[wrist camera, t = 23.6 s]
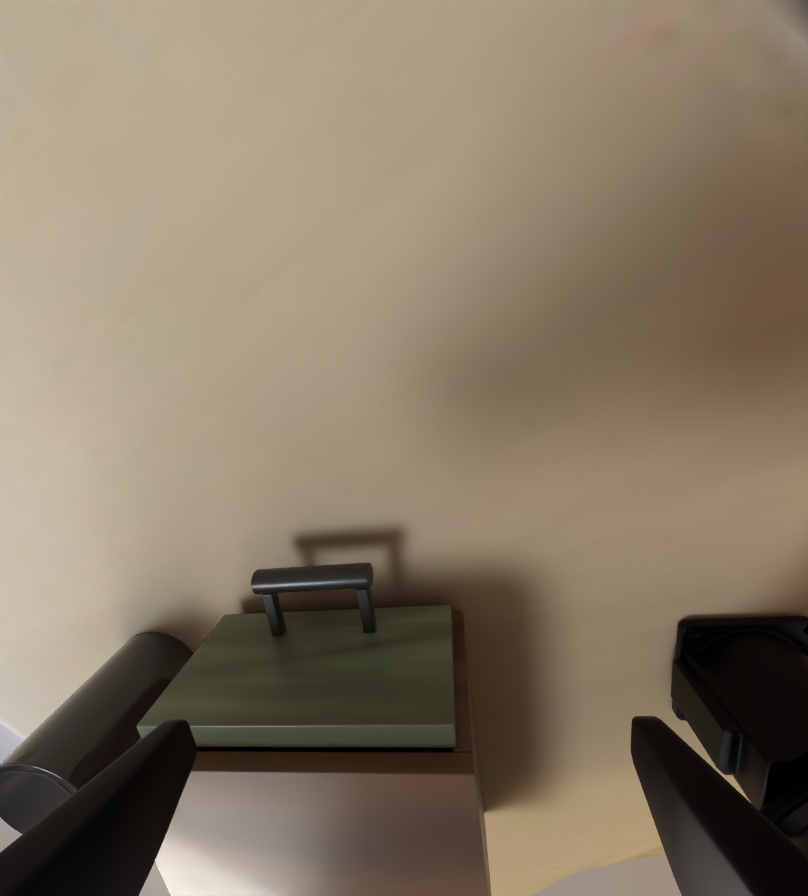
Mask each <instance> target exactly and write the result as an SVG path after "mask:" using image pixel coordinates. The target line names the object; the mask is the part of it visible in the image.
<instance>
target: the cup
mask: <svg viewBox="0 0 808 896" xmlns="http://www.w3.org/2000/svg"><path fill="white" fill-rule="evenodd" d="M192 655H193V654H192V653H191V652H190V651H189V650H188V648H186V647H185V646H184V645H183V644H182V643H180V642H179V641H177V640H176V639H174V638H172V637H170V636H167V635H164V634H160V633H153V632H148V633H142V634H138V635H136V636H134V637H132V638H131V639H130V640H129V641H127V642H126V643H125V644H124V645H123V646H122V647H121V648H120V649H119V650H118V651H117V652H116V653H115V654H114V655H113V656H112V657H111V658H110V659H109V660H108V661H107V662H106V663H104V664H103V665H102V666H101V667H100V668H99V669H98V670H97V671H96V672H95V673H94V674H93V675H92V676H91V677H90V678H89V679H88V680H87V681H86V682H85V683H84V684H83V685H81V686H80V687H79V688H78V689H77V690H76V691H75V692H74V693H73V694H72V695H71V696H70V697H69V698H68V699H67V700H66V701H65V702H64V703H63V704H62V705H61V706H60V707H58V708H57V709H56V710H55V711H54V712H53V713H52V714H51V715H50V716H49V717H48V718H47V719H46V720H45V721H44V722H43V723H42V724H41V725H40V726H39V727H38V728H37V729H35V730H34V731H33V732H32V733H31V734H30V735H29V736H28V737H27V738H26V739H25V740H24V741H23V742H22V743H21V744H20V745H19V746H18V747H17V748H16V749H15V750H14V751H12V753H10V754H9V755H8V756H7V757H6V758H5V759H4V760H3V761H2V762H1V763H0V817H1V818H2V819H3V820H4V821H5V822H6V823H7V824H8V825H10V826H11V827H12V828H14V829H15V830H17V831H18V832H20V833H22V834H24V833H25V832H26V831H28V830H29V829H30V828H31V827H33V826H34V825H35V824H36V823H38V822H39V821H40V820H41V819H43V818H44V817H45V816H46V815H48V814H49V813H50V812H51V811H53V810H54V809H55V808H56V807H58V806H59V805H60V804H61V803H63V802H64V801H65V800H66V799H68V798H69V797H70V796H71V795H73V794H74V793H75V792H76V791H78V790H79V789H80V788H81V787H83V786H84V785H85V784H86V783H88V782H89V781H90V780H91V779H93V778H94V777H95V776H96V775H98V774H99V773H100V772H101V771H103V770H104V769H105V768H106V767H108V766H109V765H110V764H111V763H113V762H114V761H115V760H116V759H118V758H119V757H120V756H121V755H123V754H124V753H125V752H126V751H128V750H129V749H130V748H131V747H132V746H134V745H135V744H136V742H137V741H138V740H139V738H140V734H139V732H138V729H137V725H138V723H139V722H140V721H141V719H142V718H143V717H144V716H145V714H146V713H147V712H148V711H149V709H150V708H151V707H152V706H153V704H154V703H155V702H156V701H157V699H158V698H159V697H160V696H161V694H162V693H163V692H164V690H165V689H166V688H167V687H168V685H169V684H170V683H171V682H172V680H173V679H174V678H175V677H176V675H177V674H178V673H179V672H180V670H181V669H182V668H183V667H184V665H185V664H186V663H187V662H188V660H189V659H190V658H191V656H192Z"/></svg>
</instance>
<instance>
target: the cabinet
mask: <svg viewBox="0 0 808 896" xmlns="http://www.w3.org/2000/svg"><path fill="white" fill-rule="evenodd" d="M452 620H453V644H454V672H455V699H456V727H457V747H456V748H452V752H275V751H197V755H196V759H195V762H194V765H193V767H192V770H191V772H190V775H189V777H188V780H187V783H186V785H185V788H184V790H183V793H182V795H181V798H180V800H179V803H178V805H177V808H176V810H175V813H174V815H173V818H172V821H171V823H170V826H169V828H168V831H167V833H166V836H165V838H164V841H163V843H162V845H161V848H160V850H159V852H158V855H157V857H156V859H155V861H156V863H157V865H158V868H159V870H160V872H161V874H162V876H163V879H164V881H165V883H166V886H167V888H168V890H169V892H170V895H171V896H491V886H490V875H489V864H488V852H487V841H486V829H485V818H484V808H483V798H482V789H481V779H480V770H479V760H478V751H477V741H476V732H475V722H474V713H473V703H472V694H471V684H470V675H469V665H468V655H467V646H466V636H465V627H464V617H463V612H452ZM140 740H141V737H140V738H139V740H138V741H137V742H139V741H140ZM137 742H136V743H137Z"/></svg>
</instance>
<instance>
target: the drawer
mask: <svg viewBox="0 0 808 896" xmlns="http://www.w3.org/2000/svg"><path fill="white" fill-rule="evenodd" d="M372 583H373V570H372V566H371V563H356V564H339V565H323V566H306V567H290V568H273V569H258V570H256V571H255V572H254V574H253V576H252V580H251V587H252V590H253V592H254V593H255V594H262V600H263V603H264V607H265V611H266V613H254V614H232V615H224V616H223V617H222V619H221V620H220V621H219V622H218V624H217V625H216V626H215V628H214V629H213V630H212V631H211V633H210V634H209V635H208V636H207V638H206V639H205V640H204V641H203V643H202V644H201V645H200V646H199V648H198V649H197V650H196V651H195V653H194V654H193V655H192V656H191V658H190V659H189V660H188V662H187V663H186V664H185V665H184V667H183V668H182V669H181V670H180V672H179V673H178V674H177V675H176V677H175V678H174V679H173V680H172V682H171V683H170V684H169V685H168V687H167V688H166V689H165V690H164V692H163V693H162V694H161V696H160V697H159V698H158V699H157V701H156V702H155V703H154V704H153V706H152V707H151V708H150V709H149V711H148V712H147V713H146V714H145V716H144V717H143V718H142V719H141V721H140V722H139V723H138V725H137V729H138V732H139V734H140V737H141V739H142V738H144V737H145V736H146V735H147V734H149V733H150V732H151V731H152V730H154V729H155V728H156V727H157V726H159V725H160V724H161V723H163V722H164V721H166V720H169V719H185V720H186V721H187V722H188V723H189V726H190V729H191V732H192V734H193V737H194V740H195V743H196V746H197V751H275V752H452V748H456V747H457V727H456V699H455V672H454V644H453V620H452V612H451V606H450V605H433V606H411V607H388V608H373V602H372V596H371V591H370V588H371V586H372ZM344 589H356V594H357V599H358V604H359V609H344V610H321V611H299V612H282V609H281V605H280V601H279V597H278V593H286V592H305V591H325V590H344Z"/></svg>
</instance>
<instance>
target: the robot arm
mask: <svg viewBox="0 0 808 896" xmlns="http://www.w3.org/2000/svg"><path fill="white" fill-rule="evenodd" d="M690 630H691V631H690ZM688 631H690V632H688ZM671 697H672V698H673V702H672V709H673V711H674V713H675V714H676V716H677V717H678V718H679V719H680V720H685V721H687V722H688V723H689V725H690V726H691V728H692V730H693V731H694V733H695V734H696V736H697V737H698V739H699V741H700V742H701V744H702V745H703V747H704V748H705V750H706V751H707V753H708V755H709V756H710V758H711V759H712V761H713V762H714V764H715V765H716V767H717V768H718V769H719V770H720V771H721V772H722V773H723V774H725V775H733V777H734V778H735V780H736V781H737V783H738V784H739V786H740V787H741V789H742V790H743V792H744V793H745V795H746V796H747V798H748V799H749V801H750V802H751V803H750V802H749V801H748V800H747V799H746V798H745V797H744V796H743V795H742V794H740V793H739V792H738V791H737V790H736V789H735V788H734V787H733V786H732V785H731V784H730V783H729V782H727V781H726V780H725V779H724V778H723V777H722V776H721V775H720V774H719V773H718V772H717V771H716V770H715V769H713V768H712V767H711V766H710V765H709V764H708V763H707V762H706V761H705V760H704V759H703V758H702V757H701V756H699V755H698V754H697V753H696V752H695V751H694V750H693V749H692V748H691V747H690V746H689V745H688V744H687V743H685V742H684V741H683V740H682V739H681V738H680V737H679V736H678V735H677V734H676V733H675V732H674V731H673V730H671V729H670V728H669V727H668V726H667V725H666V724H665V723H664V722H663V721H662V720H660V719H659V718H657V717H654V716H635V717H634V718H633V719H632V729H631V755H632V759H633V763H634V766H635V769H636V772H637V774H638V777H639V780H640V783H641V786H642V788H643V791H644V794H645V797H646V800H647V803H648V805H649V808H650V811H651V814H652V817H653V820H654V822H655V825H656V828H657V831H658V834H659V836H660V839H661V842H662V845H663V848H664V851H665V853H666V856H667V859H668V862H669V864H670V867H671V870H672V872H673V875H674V878H675V880H676V883H677V885H678V887H679V890H680V892H681V894H682V896H808V617H805V616H795V617H768V618H740V619H713V620H688V621H684V622H682V623H680V625H679V626H678V631H677V645H676V658H675V659H674V661H673V670H672V685H671ZM196 755H197V746H196V743H195V740H194V737H193V734H192V732H191V729H190V726H189V723H188V722H187V721H186V720H185V719H169V720H166V721H164V722H163V723H161V724H160V725H159V726H157V727H156V728H155V729H154V730H152V731H151V732H150V733H149V734H147V735H146V736H145V737H144V738H142V739H141V740H140V741H139V742H137V743H136V744H135V745H134V746H132V747H131V748H130V749H129V750H128V751H126V752H125V753H124V754H123V755H121V756H120V757H119V758H118V759H116V760H115V761H114V762H113V763H111V764H110V765H109V766H108V767H106V768H105V769H104V770H103V771H101V772H100V773H99V774H98V775H96V776H95V777H94V778H93V779H91V780H90V781H89V782H88V783H86V784H85V785H84V786H83V787H81V788H80V789H79V790H78V791H76V792H75V793H74V794H73V795H71V796H70V797H69V798H68V799H66V800H65V801H64V802H63V803H61V804H60V805H59V806H58V807H56V808H55V809H54V810H53V811H51V812H50V813H49V814H48V815H46V816H45V817H44V818H43V819H41V820H40V821H39V822H38V823H36V824H35V825H34V826H33V827H31V828H30V829H29V830H28V831H26V832H25V833H24V834H23V835H21V836H20V837H19V838H18V839H16V840H15V841H14V842H13V843H12V844H10V845H9V846H8V847H7V848H5V849H4V850H3V851H2V852H0V896H139V893H140V891H141V889H142V887H143V885H144V883H145V881H146V879H147V877H148V875H149V872H150V870H151V868H152V866H153V864H154V861H155V859H156V857H157V855H158V852H159V850H160V848H161V845H162V843H163V841H164V838H165V836H166V833H167V831H168V828H169V826H170V823H171V821H172V818H173V815H174V813H175V810H176V808H177V805H178V803H179V800H180V798H181V795H182V793H183V790H184V788H185V785H186V783H187V780H188V777H189V775H190V772H191V770H192V767H193V765H194V762H195V759H196Z"/></svg>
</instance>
